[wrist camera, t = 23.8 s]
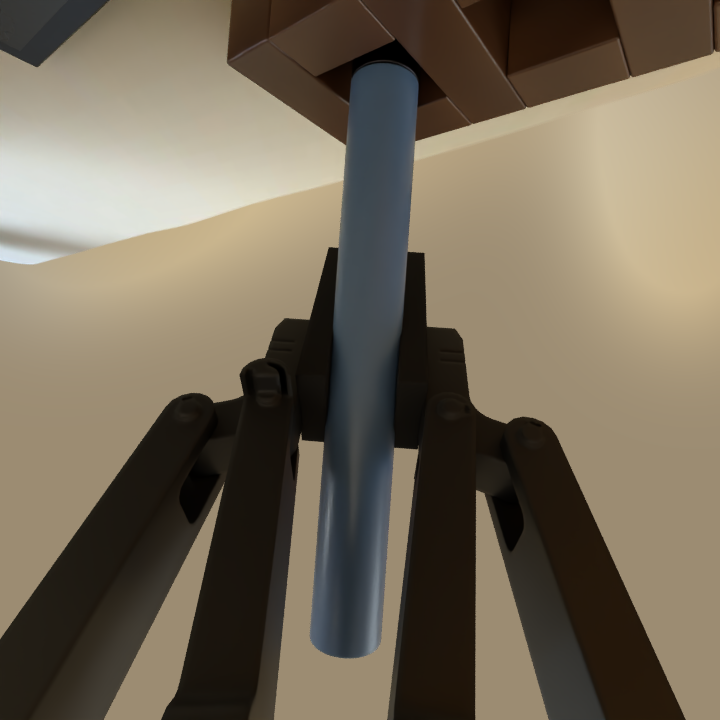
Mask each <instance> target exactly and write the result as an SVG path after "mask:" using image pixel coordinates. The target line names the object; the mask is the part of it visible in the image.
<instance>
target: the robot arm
mask: <svg viewBox="0 0 720 720" xmlns="http://www.w3.org/2000/svg"><path fill="white" fill-rule="evenodd" d="M338 250H339V248H333V247H329V249H328V253H327V256H326V260H325V264H324V268H323V272H322V275H321V279H320V283H319V287H318V291H317V295H316V298H315V302H314V306H313V310H312V313H311V317H310V320H302V319H289V318H285V319H284V320H283V321H282V322H281V323H280V324H279V325H278V326H277V327H276V328H275V330H274V333H273V336H272V340H271V342H270V345H269V349H268V351H267V353H266V357H265V358H262V359H257V360H255V361H253V362H250V363H249V364H248V365H246V366H245V367H244V368H243V369H242V371H241V373H240V379H241V384H242V388H243V393H244V395H243V396H241V397H239V398H237V399H233V400H229V401H223V402H217V403H213V401H212V400H211V399H210V398H209V397H208V396H206V395H203V394H200V393H189V394H185V395H181V396H179V397H178V398H176V399H174V400H172V401H171V402H170V403H169V404H168V405H167V406H166V407H165V409H164V410H163V411H162V413H161V414H160V416H159V417H158V418H157V420H156V421H155V423H154V424H153V425H152V427H151V428H150V430H149V431H148V432H147V434H146V435H145V437H144V438H143V439H142V441H141V442H140V444H139V445H138V446H137V448H136V449H135V451H134V452H133V454H132V455H131V456H130V458H129V459H128V461H127V462H126V463H125V465H124V466H123V468H122V469H121V470H120V472H119V473H118V474H117V476H116V477H115V479H114V480H113V482H112V483H111V484H110V486H109V487H108V489H107V490H106V491H105V493H104V494H103V496H102V497H101V498H100V500H99V501H98V503H97V504H96V506H95V507H94V508H93V510H92V511H91V513H90V514H89V515H88V517H87V518H86V520H85V521H84V522H83V524H82V525H81V527H80V528H79V529H78V531H77V532H76V533H75V535H74V536H73V538H72V539H71V541H70V542H69V543H68V545H67V546H66V548H65V549H64V551H63V552H62V553H61V555H60V556H59V557H58V559H57V560H56V562H55V563H54V564H53V566H52V567H51V569H50V570H49V571H48V573H47V574H46V576H45V577H44V578H43V580H42V581H41V583H40V584H39V586H38V587H37V588H36V590H35V591H34V593H33V594H32V596H31V597H30V598H29V600H28V601H27V602H26V604H25V605H24V606H23V608H22V609H21V611H20V612H19V613H18V615H17V616H16V618H15V619H14V621H13V622H12V623H11V625H10V626H9V628H8V629H7V630H6V632H5V633H4V635H3V636H2V638H1V639H0V720H104V718H105V716H106V714H107V712H108V710H109V708H110V706H111V704H112V702H113V700H114V698H115V696H116V694H117V692H118V690H119V688H120V686H121V684H122V682H123V680H124V678H125V676H126V674H127V673H128V671H129V669H130V667H131V665H132V663H133V661H134V659H135V657H136V655H137V653H138V651H139V649H140V647H141V645H142V643H143V641H144V639H145V637H146V635H147V633H148V631H149V629H150V627H151V625H152V623H153V622H154V620H155V618H156V616H157V614H158V611H159V610H160V608H161V606H162V604H163V602H164V600H165V598H166V596H167V594H168V592H169V590H170V588H171V586H172V584H173V582H174V580H175V578H176V576H177V574H178V572H179V571H180V568H181V567H182V564H183V562H184V561H185V559H186V556H187V555H188V553H189V551H190V549H191V547H192V545H193V543H194V541H195V539H196V537H197V535H198V533H199V531H200V529H201V527H202V525H203V523H204V521H205V519H206V517H207V516H208V514H209V512H210V509H211V508H212V506H213V504H214V502H215V500H216V498H217V496H218V494H219V492H220V490H221V488H222V486H223V484H224V482H225V484H224V488H223V492H222V497H221V502H220V506H219V510H218V515H217V519H216V524H215V528H214V532H213V537H212V541H211V546H210V550H209V555H208V559H207V563H206V568H205V572H204V577H203V581H202V586H201V590H200V594H199V599H198V603H197V608H196V612H195V617H194V621H193V626H192V630H191V634H190V639H189V643H188V648H187V652H186V657H185V661H184V666H183V670H182V674H181V679H180V683H179V686H178V690H177V692H176V695H175V697H174V698H173V699H172V701H171V702H170V703H169V705H168V706H167V707H166V710H165V712H164V714H163V717H162V719H161V720H274V711H275V700H276V689H277V680H278V670H279V659H280V649H281V639H282V628H283V617H284V608H285V597H286V587H287V577H288V576H287V575H288V565H289V556H290V546H291V535H292V525H293V515H294V505H295V494H296V484H297V473H298V463H299V449H298V448H299V447H298V443H299V438H300V434H301V435H302V440H306V441H318V442H324V438H325V426H326V422H327V409H328V396H329V383H330V369H331V356H332V343H333V317H334V303H335V290H336V276H337V263H338ZM425 291H426V290H425V259H424V253H416V252H407V266H406V280H405V295H404V310H403V324H402V332H401V336H400V346H399V360H398V375H397V389H396V403H395V417H394V430H395V442H394V448H406V449H419V452H418V459H417V464H416V470H415V476H414V479H415V482H414V490H413V499H412V508H411V517H410V526H409V534H408V543H407V553H406V561H405V569H404V578H403V587H402V596H401V604H400V614H399V622H398V631H397V640H396V648H395V657H394V666H393V675H392V683H391V692H390V701H389V710H388V719H387V720H475V594H476V592H475V591H476V590H475V589H476V584H475V583H476V572H475V571H476V570H475V569H476V490H478V491H480V492H483V493H485V497H486V500H487V503H488V507H489V510H490V514H491V517H492V521H493V525H494V528H495V532H496V535H497V539H498V542H499V546H500V549H501V553H502V556H503V560H504V563H505V567H506V570H507V574H508V578H509V581H510V585H511V588H512V591H513V595H514V599H515V602H516V606H517V609H518V613H519V616H520V620H521V623H522V627H523V630H524V634H525V637H526V641H527V644H528V648H529V652H530V655H531V658H532V662H533V666H534V669H535V673H536V676H537V680H538V683H539V687H540V690H541V694H542V697H543V701H544V704H545V708H546V712H547V715H548V718H549V720H686V719H685V717H684V715H683V713H682V711H681V708H680V706H679V704H678V702H677V700H676V698H675V695H674V693H673V691H672V689H671V686H670V685H669V682H668V680H667V678H666V676H665V674H664V671H663V669H662V667H661V664H660V662H659V660H658V658H657V656H656V654H655V652H654V649H653V647H652V645H651V642H650V641H649V638H648V636H647V634H646V631H645V629H644V627H643V625H642V623H641V621H640V618H639V616H638V614H637V612H636V610H635V607H634V605H633V603H632V601H631V599H630V596H629V594H628V592H627V590H626V588H625V585H624V583H623V581H622V579H621V577H620V574H619V572H618V570H617V568H616V566H615V564H614V561H613V559H612V557H611V555H610V552H609V550H608V548H607V546H606V544H605V542H604V539H603V537H602V535H601V533H600V531H599V528H598V526H597V524H596V522H595V520H594V517H593V515H592V513H591V511H590V509H589V506H588V504H587V502H586V500H585V497H584V495H583V493H582V491H581V489H580V487H579V484H578V482H577V480H576V478H575V476H574V473H573V471H572V469H571V467H570V465H569V462H568V460H567V458H566V456H565V454H564V452H563V449H562V447H561V445H560V443H559V440H558V438H557V436H556V435H555V433H554V432H553V430H552V429H551V428H550V427H549V426H547V425H546V424H545V423H544V422H542V421H539V420H537V419H534V418H529V417H520V418H515V419H513V420H512V421H510V422H509V423H508V424H505V423H502V422H499V421H496V420H493V419H491V418H489V417H486V416H485V415H483V414H481V413H480V412H479V411H477V409H476V408H475V407H474V405H473V404H472V403H471V401H470V397H469V389H468V381H467V373H466V364H465V355H464V347H463V340H462V338H461V337H460V335H459V334H458V332H457V331H456V330H455V329H452V328H436V327H427V323H426V292H425Z"/></svg>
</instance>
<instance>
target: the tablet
mask: <svg viewBox="0 0 720 720" xmlns="http://www.w3.org/2000/svg"><path fill="white" fill-rule="evenodd" d="M108 1H109V0H0V50H2V51H4V52H6V53H8V54H11V55H13V56H15V57H17V58H19V59H21V60H23V61H25V62H27V63H29V64H31V65H33V66H35V67H39V66H40V65H41V64H42V63H43V62H44V61H45V60H46V59H47V58H48V57H49V56H50V55H51V54H53V53H54V52H55V51H56V50H57V49H58V48H59V47H60V46H61V45H62V44H63V43H64V42H65V41H66V40H68V39H69V38H70V37H71V36H72V35H73V34H74V33H75V32H76V31H77V30H78V29H79V28H80V27H82V26H83V25H84V24H85V23H86V22H87V21H88V20H89V19H90V18H91V17H92V16H93V15H94V14H96V13H97V12H98V11H99V10H100V9H101V8H102V7H103V6H104V5H105V4H106V3H107V2H108Z"/></svg>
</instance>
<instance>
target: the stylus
mask: <svg viewBox="0 0 720 720" xmlns="http://www.w3.org/2000/svg"><path fill="white" fill-rule="evenodd" d="M419 75H420V65H419V64H418V63H417V62H416V61H415V59H414V58H413V57H412V56H411V55H410V54H409V53H408V52H407V51H406V49H405V48H404V47H403V46H402V45H401V44H400V43H399V42H398V40H397V39H396V38H395V40H394V41H392V42H390V43H388V44H386V45H383V46H381V47H379V48H377V49H375V50H373V51H370V52H368V53H366V54H364V55H362V56H359V57H357V58H355V59H353V61H352V75H351V88H350V102H349V115H348V129H347V142H346V155H345V169H344V183H343V196H342V209H341V223H340V237H339V250H338V263H337V276H336V290H335V303H334V317H333V343H332V356H331V369H330V383H329V396H328V409H327V422H326V426H325V438H324V451H323V452H324V453H323V465H322V478H321V492H320V505H319V519H318V532H317V546H316V559H315V572H314V586H313V599H312V613H311V626H310V627H311V628H310V639H311V641H312V644H313V645H314V646H315V647H316V648H317V649H318V650H320V651H322V652H323V653H325V654H327V655H330V656H334V657H339V658H359V657H363V656H366V655H369V654H371V653H373V652H374V651H375V650H376V649H377V648H378V647H379V645H380V642H381V632H382V617H383V602H384V588H385V573H386V559H387V544H388V530H389V529H388V528H389V514H390V500H391V485H392V470H393V455H394V442H395V430H394V417H395V403H396V389H397V375H398V360H399V346H400V336H401V332H402V324H403V310H404V295H405V280H406V266H407V251H408V235H409V222H410V206H411V192H412V177H413V163H414V149H415V134H416V119H417V105H418V90H419Z"/></svg>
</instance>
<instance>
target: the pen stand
mask: <svg viewBox="0 0 720 720" xmlns="http://www.w3.org/2000/svg"><path fill="white" fill-rule="evenodd" d="M395 38H396V39H397V40H398V42H399V43H400V44H401V45H402V46H403V47H404V48H405V49H406V51H407V52H408V53H409V54H410V55H411V56H412V57H413V58H414V59H415V61H416V62H417V63H418V64H419V65H420V75H419V90H418V105H417V119H416V134H415V141H418V140H421V139H424V138H428V137H431V136H435V135H438V134H442V133H445V132H448V131H452V130H455V129H459V128H462V127H465V126H469V125H471V124H475V123H478V122H482V121H485V120H489V119H492V118H495V117H499V116H502V115H506V114H509V113H512V112H516V111H519V110H523V109H525V108H526V106H527V107H533V106H536V105H540V104H543V103H547V102H550V101H553V100H557V99H560V98H564V97H567V96H570V95H574V94H577V93H581V92H584V91H587V90H591V89H594V88H598V87H601V86H605V85H608V84H611V83H615V82H618V81H622V80H625V79H628V78H630V75H631V76H632V77H636V76H639V75H642V74H646V73H649V72H653V71H656V70H659V69H663V68H666V67H670V66H673V65H676V64H680V63H683V62H687V61H690V60H694V59H697V58H700V57H704V56H707V55H711V54H712V53H713V51H714V49H715V51H716V52H719V51H720V0H232V5H231V17H230V29H229V41H228V53H227V64H228V65H229V66H231V67H232V68H234V69H235V70H237V71H238V72H240V73H241V74H243V75H244V76H245V77H247V78H248V79H250V80H251V81H253V82H254V83H256V84H257V85H259V86H260V87H262V88H263V89H264V90H266V91H267V92H269V93H270V94H272V95H273V96H275V97H276V98H278V99H279V100H281V101H282V102H283V103H285V104H286V105H288V106H289V107H291V108H292V109H294V110H295V111H297V112H298V113H300V114H301V115H302V116H304V117H305V118H307V119H308V120H310V121H311V122H313V123H314V124H316V125H317V126H319V127H320V128H321V129H323V130H324V131H326V132H327V133H329V134H330V135H332V136H333V137H335V138H336V139H338V140H339V141H340V142H342V143H343V144H345V145H346V142H347V129H348V115H349V102H350V88H351V75H352V61H353V59H355V58H357V57H359V56H362V55H364V54H366V53H368V52H370V51H373V50H375V49H377V48H379V47H381V46H383V45H386V44H388V43H390V42H392V41H394V40H395Z"/></svg>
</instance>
